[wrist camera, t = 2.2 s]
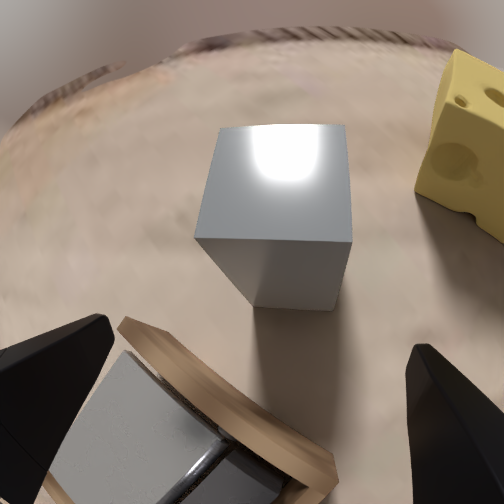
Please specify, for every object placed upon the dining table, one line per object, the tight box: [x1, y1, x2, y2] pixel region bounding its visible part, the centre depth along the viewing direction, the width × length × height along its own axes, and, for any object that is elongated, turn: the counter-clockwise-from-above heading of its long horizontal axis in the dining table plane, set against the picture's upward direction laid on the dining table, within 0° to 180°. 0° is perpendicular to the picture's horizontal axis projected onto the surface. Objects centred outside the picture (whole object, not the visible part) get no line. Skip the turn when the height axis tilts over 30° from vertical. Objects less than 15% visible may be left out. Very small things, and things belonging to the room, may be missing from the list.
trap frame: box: [42, 316, 339, 504], centre depth 14 cm, size 14×16×6 cm
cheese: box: [414, 49, 504, 244], centre depth 16 cm, size 10×11×10 cm
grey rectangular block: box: [194, 124, 352, 311], centre depth 16 cm, size 6×6×11 cm
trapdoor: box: [49, 350, 285, 504], centre depth 12 cm, size 12×13×3 cm
